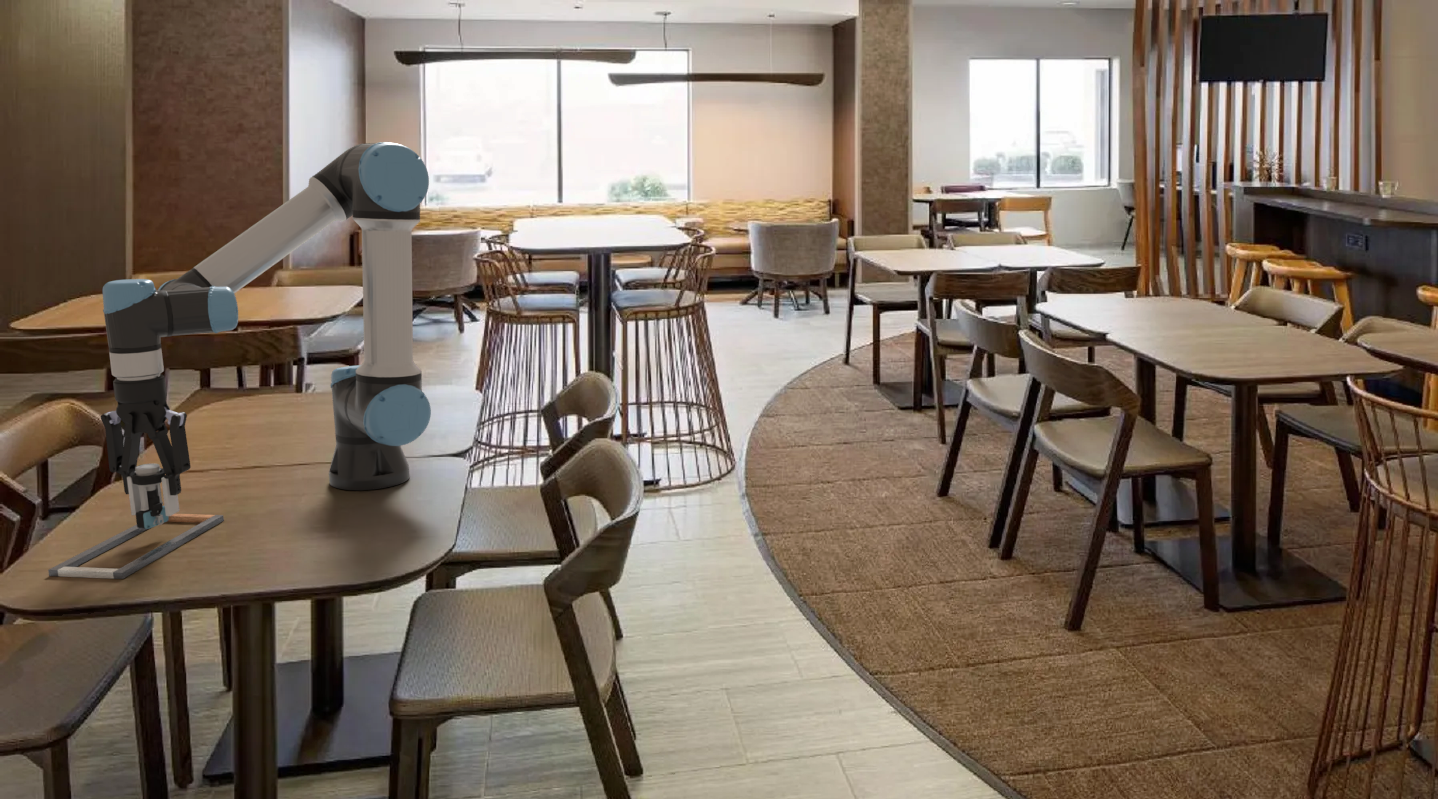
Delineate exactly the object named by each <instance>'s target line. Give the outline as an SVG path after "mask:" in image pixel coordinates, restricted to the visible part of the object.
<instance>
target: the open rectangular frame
mask: <svg viewBox="0 0 1438 799" xmlns="http://www.w3.org/2000/svg"><path fill="white" fill-rule="evenodd" d="M168 518H169V520H168V521H167V522H169V523H171V522H173V523H175V522H176V523H196V524H197V523H198V524H197V525H194V526H192V528H189V529H188V530H186V531H184V532H182V533H181V534H179V535H177V536H175V537H173V538H172V539H169V540H168V541H165V543H163V544H161V545H159V546H157V547H156V548H154V549H152V550H150V551H148V552H146V553H144V554H143V555H141V556H139V557H138V558H136V559H134V560H132V561H131V562H129V563H127V564H125V565H124V566H122V567H120V568H110V567H109V568H108V567H87V566H86V567H84V566H81V565H82V564H84V563H87V562H88V561H90V560H92V559H94V558H96V557H98V556H100V555H101V554H103V553H106V552H107V551H109V550H111V549H113V548H115V547H117V546H118V545H120V544H122V543H124V542H126V541H128V540H130V539H132V538H134V537H136V536H138V535H140V534H141V533H144V532H145V531H147V530H148V529H145V528H138V527H137V524H135V525H133V526H131V527H128V528H127V529H125V530H123V531H121V532H119V533H117V534H116V535H113V536H111V537H109V538H108V539H105V540H104V541H101V542H100V543H98V544H96V545H93V546H92V547H91V548H88V549H86V550H84V551H82V552H80V553H78V554H77V555H75V556H73V557H70V558H69V559H66V560H65V561H62V562H61V563H58V564H57V565H55V566H53V567H51V568H49V569H48V570H47V571H48V576H49V577H64V578H65V577H66V578H67V577H69V578H70V577H71V578H91V579H114V580H117V579H119V580H124V579H125V578H127V577H129V576H130V575H132V574H134V573H136V572H137V571H139V570H142V569H143V568H145V567H146V566H148V565H149V564H151V563H153V562H154V561H157V560H158V559H160V558H162V557H164V556H166V555H167V554H170V552H172V551H174V550H176V549H177V548H179V547H181V546H183V545H184V544H186V543H188V542H189V541H191V540H194V539H195V538H197V537H198V536H199V535H201V534H204V533H205V532H207V531H208V530H210V529H212V528H214V527H216V526H217V525H219V524H221V523H222V522H224V521H225V518H224V515H223V514H202V513H200V514H199V513H198V514H195V513H193V514H192V513H175V514H173V515H171V516H169V517H168ZM79 566H80V567H79Z"/></svg>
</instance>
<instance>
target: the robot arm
mask: <svg viewBox="0 0 1438 799" xmlns="http://www.w3.org/2000/svg"><path fill="white" fill-rule="evenodd" d="M429 184H430V177H429V172H428V169H427V167H426V164H425V162H424V161H423V158H421V156H419V155H418V154H417V153H416V151H414V150H413V149H412V148H410V147H408V146H405V145H403V144H401V143H400V144H399V143H397V142H390V141H383V142H382V141H381V142H371V143H370V142H369V143H367V142H366V143H365V142H364V143H359V144H356V145H354V146H352V147H350V148H348V149H347V150H345V151H344V152H342V153H341V154H339V155H338V156H337V157H336V158H335V159H334V160H332V161H331V162H329V163H328V164H327V165H325V166H324V167H323V168H322V169H320V170H319V171H318V172H317V173H315V174H314V175H312V176H311V177H309V179H308V185H307V187H305V188H303V189H302V190H301V191H299V193H297V194H296V195H294V196H292V197H291V198H289V199H288V200H287V201H285V202H284V203H283V204H282V205H280V206H279V207H278V208H276V209H275V210H274V209H273V211H271V212H270V213H268V214H267V215H266V216H264V217H263V218H262V219H260V220H258V222H256V223H254V224H253V225H252V226H250V227H249V228H247V229H246V230H244V231H243V232H241V233H240V234H239V235H238V236H236V237H235V238H234V239H232V240H230V241H229V242H228V243H226V244H224V245H223V246H222V247H220V248H219V249H217V251H215V252H213V253H212V254H210V255H209V256H208V257H206V258H204V259H203V260H202V261H200V262H199V263H198V264H197V265H195V266H193V268H191V269H190V270H188V271H186V272H185V273H183V274H182V275H180V276H179V277H177V278H176V279H175V278H174V279H171V280H168V281H166V282H164V283H162V284H161V285H160V286H159V287H158V289H157V288H156V287H155V284H154V282H153V280H151V279H148V278H147V279H146V278H136V279H134V278H133V279H132V278H131V279H130V278H129V279H128V278H127V279H116V280H112V281H108V282H106V283H105V284H104V285H103V287H102V302H103V304H102V305H103V309H102V312H103V316H104V323H105V329H106V330H105V331H106V336H107V338H106V339H107V343H108V344H107V345H108V351H109V352H108V353H109V360H110V362H109V363H110V371H111V375H112V376H113V377H115V378H114V380H113V381H112V383H113V392H114V399H115V401H116V402H117V407H116V409H115V410H111V411H108V412H106V413H103V414H101V416H100V419H101V423H102V424H103V427H104V430H105V440H106V451H107V458H108V459H107V461H108V467H109V468H108V469H109V471H110V472H111V473H114V474H115V473H116V474H120V475H121V477H122V482H123V489H124V490H123V491H124V493H125V495H128V497H129V504H130V513H131V516H136V512H139V511H141V500H140V491H139V487H138V485H136V484H133V482H132V478H131V477H130V473H132V472H134V471H136V469H135V468H136V467H137V466H138V460H139V459H138V458H139V451H140V445H141V438H142V435H143V434H147V436H148V438H149V439H150V440H151V441H152V442H153V447H154V449H155V451H156V454H157V456H158V460H159V461H160V465H161V468H163V469H164V472H165V475H164V476H163V477H162V478H161V480H162V482H161V486H162V493H163V495H162V496H163V504H164V505H163V506H165V513H166V516H171V515H173V514H178V513H179V512H180V511H181V510H180V503H179V496H178V495H180V494H182V485H181V476H180V475H181V474H183V473H185V472H186V471H189V470H190V469H191V467H192V466H191V461H190V460H191V459H190V453H189V452H190V451H189V447H188V445H189V444H188V438H187V433H186V422H187V418H188V415H187V413H186V412H184V411H180V412H176V411H174V410H171V409H170V406H169V404H168V403H167V396H168V391H167V383H166V377H165V375H163V374H162V373H163V372H164V371H165V368H164V360H163V358H164V357H163V353H162V352H163V351H162V344H161V343H162V342H161V338H165V337H167V338H168V337H172V336H174V337H175V336H186V335H197V334H212V333H213V334H218V333H221V332H229V331H233V330H234V329H236V328H237V326H238V323H239V307H238V301H237V297H236V293H237V292H238V291H240V290H241V289H242V288H244V287H245V286H246V285H248V284H249V283H251V282H252V281H254V280H255V279H256V278H258V277H259V276H261V275H262V274H263V273H264V272H266V271H268V270H269V269H271V267H273V266H275V265H276V264H277V263H279V262H280V261H282V260H283V259H284V258H285V257H287V256H288V255H289V254H291V253H292V252H294V251H295V250H297V249H299V247H301V246H302V245H304V244H305V243H306V242H308V241H309V240H311V239H312V238H313V237H314V236H316V235H317V234H319V233H320V232H321V231H323V230H324V229H325V228H327V227H328V226H330V225H331V224H333V223H334V222H336V221H337V222H345V221H346V220H348V219H349V218H351V217H352V220H353V221H354V222H355V223H356V224H357V225H358V226H359V227H360V229H361V254H362V255H361V257H362V258H361V260H362V262H361V263H362V264H361V267H362V269H361V270H362V305H363V306H362V308H363V309H362V310H363V311H362V314H363V316H362V317H363V318H362V319H363V362H362V364H360V365H349V366H342V367H337V368H335V369H333V371H332V372H331V374H330V376H331V377H330V378H331V379H330V380H331V383H330V385H329V386H330V388H331V395H332V396H331V399H332V408H333V421H334V434H335V447H334V451H333V456H332V460H331V463H330V467H329V471H328V478H329V481H328V482H329V485H330V487H333V488H336V489H339V490H347V491H371V490H379V489H385V488H391V487H394V486H397V485H400V484H403V483H405V482H406V481H408V480H409V479H410V477H411V474H410V466H409V463H408V461H407V458H406V455H405V452H404V450H403V448H402V446H405V445H409V444H411V443H413V442H414V441H416V440H417V439H418V438H419V437H420V436H421V435H422V434H424V432H425V431H426V430H427V428H428V426H429V423H430V420H431V415H432V409H431V408H432V407H431V404H430V401H429V399H428V398H427V395H426V394H425V392H423V383H422V382H423V381H422V380H423V378H422V375H423V374H422V369H421V368H420V367H419V366H418V365H417V364H416V363H415V362H414V356H413V355H414V344H413V343H414V342H413V340H414V337H413V332H414V331H413V330H414V329H413V327H414V326H413V323H414V322H413V262H412V261H413V259H412V258H413V252H412V251H413V246H412V245H413V244H412V243H413V242H412V231H413V229H414V228H415V227H416V226H417V225H418V224H420V222H421V203H422V202H423V200H424V199H425V198H426V195H427V193H428V190H429ZM166 420H167V424H168V425H169V430H168V428H167V426H166V425H167V424H166ZM121 421H122V423H124V428H123V427H122V423H121ZM122 428H123V429H124V431H123V429H122ZM168 432H169V435H168ZM169 437H170V438H169Z"/></svg>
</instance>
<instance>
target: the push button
mask: <svg viewBox="0 0 1438 799" xmlns="http://www.w3.org/2000/svg"><path fill="white" fill-rule="evenodd" d="M160 465H161V464H158V463H144V464H140V465H137V467H136V468H135V469H136V471H134V472H132V473H130V477H131V478H132V482H133V484H136V485H138V487H139V491H140V500H141V511H139V512H136V515H135V520H136V521H135V522H136V525H137V527H138V528H145V529H147V530H149V529H152V528H154V527H156V526H161V525H163V524H164V523H166V522H167V521H168V520H169V518H168V517H169V516H166V513H165V505H163V504H164V501H163V500H162V492H161V491H162V490H161V484H162V480H161V478H162V477H163V476H164V475H166V474H165V472H164V469H163V467H160Z"/></svg>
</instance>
